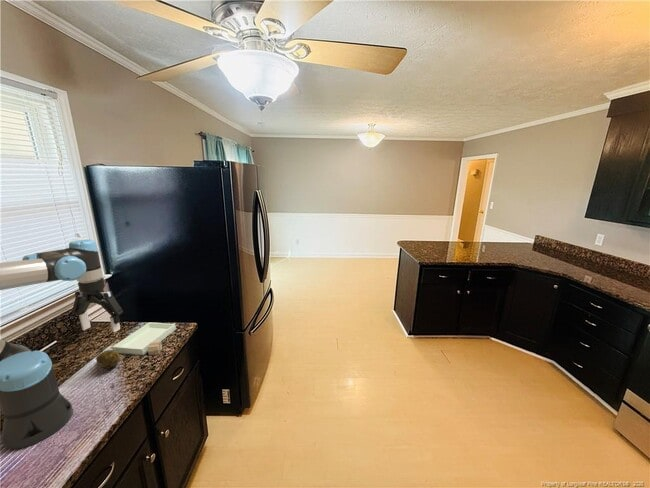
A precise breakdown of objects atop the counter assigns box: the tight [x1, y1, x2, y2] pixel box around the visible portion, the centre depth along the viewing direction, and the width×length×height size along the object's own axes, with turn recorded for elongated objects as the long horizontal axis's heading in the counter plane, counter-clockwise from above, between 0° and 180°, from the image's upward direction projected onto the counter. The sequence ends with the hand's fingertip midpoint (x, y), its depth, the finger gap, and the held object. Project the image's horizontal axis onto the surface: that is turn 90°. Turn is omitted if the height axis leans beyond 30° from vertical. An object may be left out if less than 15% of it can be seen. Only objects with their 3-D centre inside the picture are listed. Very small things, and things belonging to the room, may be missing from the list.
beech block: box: [147, 341, 163, 356], centre depth 117 cm, size 4×4×4 cm
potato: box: [95, 349, 121, 369], centre depth 108 cm, size 8×13×8 cm, turn 28°
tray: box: [111, 322, 177, 356], centre depth 126 cm, size 21×15×3 cm
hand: (101, 329), depth 106 cm, fingers open, 13 cm apart
